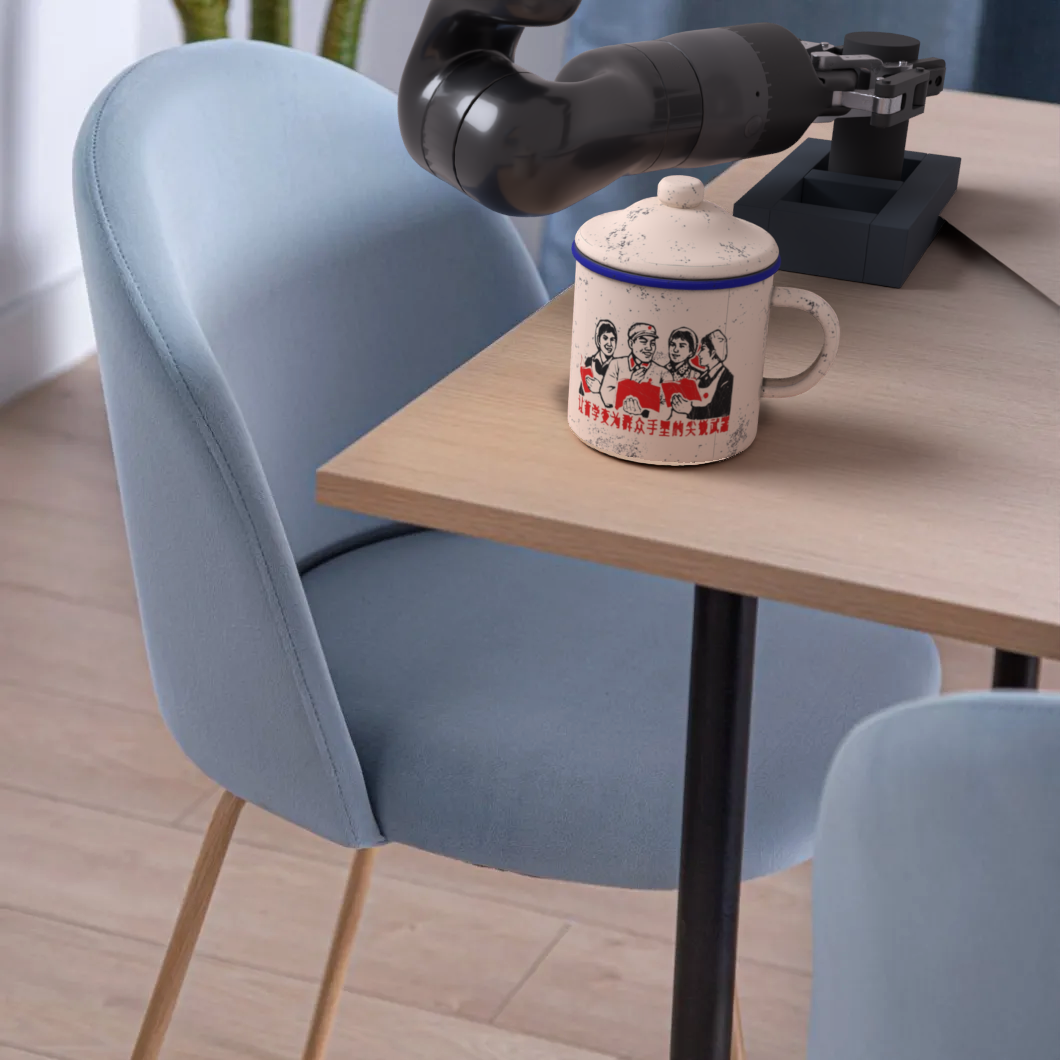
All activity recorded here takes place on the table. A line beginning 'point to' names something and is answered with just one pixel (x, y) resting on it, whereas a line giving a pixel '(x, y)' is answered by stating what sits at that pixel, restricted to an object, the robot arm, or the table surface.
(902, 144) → the black cylinder
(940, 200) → the divided rectangular tray
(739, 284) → the teacup with lid
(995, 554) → the table surface
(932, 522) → the table surface
